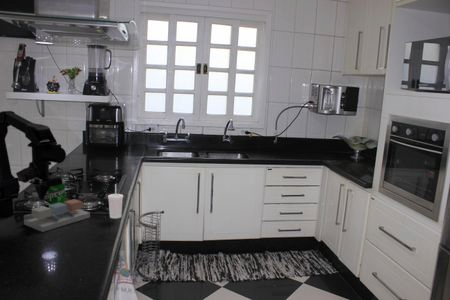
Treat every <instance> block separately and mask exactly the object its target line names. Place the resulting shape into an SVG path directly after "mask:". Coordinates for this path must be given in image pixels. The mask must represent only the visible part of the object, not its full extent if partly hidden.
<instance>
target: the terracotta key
mask: <svg viewBox="0 0 450 300" xmlns="http://www.w3.org/2000/svg"><path fill="white" fill-rule="evenodd" d="M64 204H66V205H67V210H70V211H75V210H78V209H80V210H83V201H81V200H80V199H79V200H78V199H75V198H74V199H70V200H66V201H65V202H64Z"/></svg>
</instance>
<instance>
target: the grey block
mask: <svg viewBox="0 0 450 300" xmlns="http://www.w3.org/2000/svg"><path fill="white" fill-rule="evenodd" d="M31 214H32V217H34V218H37V219H43V218H46V217H50V216H51V209H50V208H49V207H46V206H44V205H41V206H39V207H33V208H31Z"/></svg>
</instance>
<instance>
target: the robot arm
mask: <svg viewBox="0 0 450 300" xmlns="http://www.w3.org/2000/svg"><path fill="white" fill-rule="evenodd" d="M9 127H13V128H14V129H16V130H17V131H20V132H22V133H23V134H24V136H25V138H27V139H28V140H29V141H30V143H27V147H28V148H31V161H30V162H29V163H28V166H27V167H25V168H23V169H21V170H19V171H17V172H16V173H15V175H16V176H17V177H15V176H14V175H13V174H12V169H11V163H10V159H9V154H8V148H7V143H6V137H7V135H8V132H9ZM66 158H67V152H66V150H65V149H64V148H63V147H62V144H60V143H58V141H57V139H56V137H55V136H54V134H53V132H52V131H51V127H49V126H48V125H44V124H40V123H34V122H32V121H30V120H28V119H26V118H24V117H23V116H20V115H18V114H17V113H15V112H14V111H13V110H1V111H0V218H6V217H9V216H14V215H17V214H18V212H17V211H15V210H14V200H15V199H18V198H19V194H20V190H21V189H20V188H21V185H20V182H22V183H24V184H27V183H30V184H31V185H33V186H34V189H35V191H36V193H37V195H38V198H39V200H40V201H43V200H44V199H45V197H46V196H47V191H48V189H49V187H51V186H56V185H61V184H62V178H63V177H61V176H58V175H53V174H52V172H50V165H51V166H52V163H55V164H61V163H63V162H64V161H65V160H66Z"/></svg>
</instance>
